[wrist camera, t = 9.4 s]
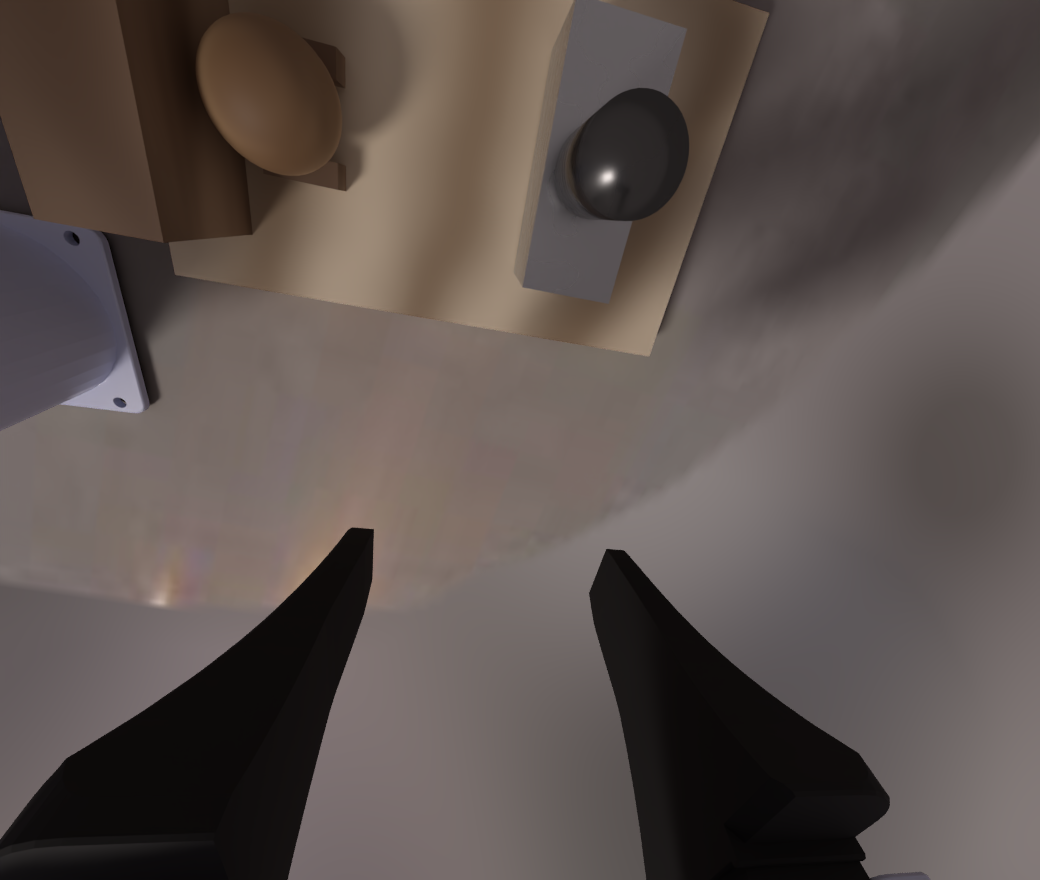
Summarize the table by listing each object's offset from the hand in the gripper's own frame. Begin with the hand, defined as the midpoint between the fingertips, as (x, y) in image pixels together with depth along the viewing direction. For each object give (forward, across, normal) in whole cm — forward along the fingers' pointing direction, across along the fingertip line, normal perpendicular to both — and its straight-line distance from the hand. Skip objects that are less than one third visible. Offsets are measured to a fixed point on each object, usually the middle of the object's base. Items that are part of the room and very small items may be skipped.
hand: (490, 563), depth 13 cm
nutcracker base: (+10, +3, -11) cm, 15 cm away
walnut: (+6, +8, -11) cm, 15 cm away
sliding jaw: (+9, -2, -11) cm, 14 cm away
